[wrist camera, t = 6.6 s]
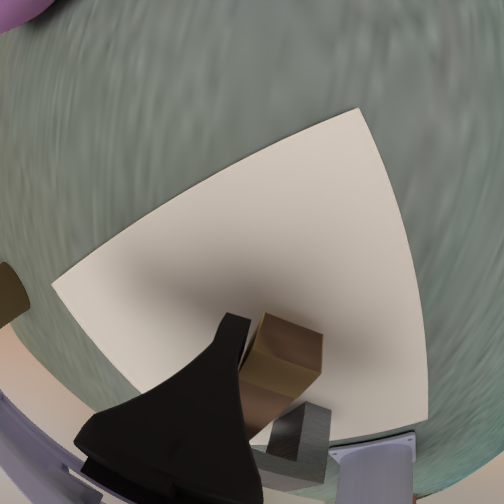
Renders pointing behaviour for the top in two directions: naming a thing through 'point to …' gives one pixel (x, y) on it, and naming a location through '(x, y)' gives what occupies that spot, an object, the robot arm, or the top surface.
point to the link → (276, 369)
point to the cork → (11, 295)
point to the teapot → (20, 12)
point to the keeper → (296, 449)
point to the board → (272, 276)
